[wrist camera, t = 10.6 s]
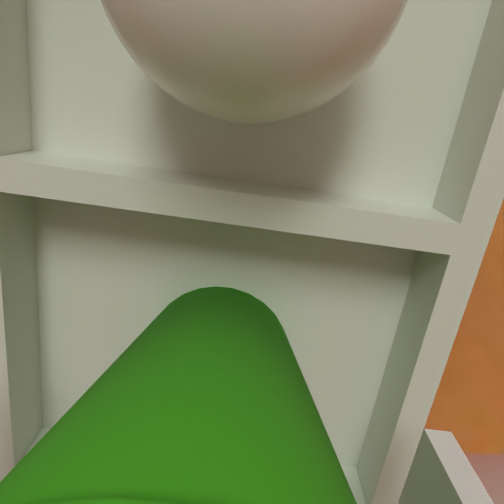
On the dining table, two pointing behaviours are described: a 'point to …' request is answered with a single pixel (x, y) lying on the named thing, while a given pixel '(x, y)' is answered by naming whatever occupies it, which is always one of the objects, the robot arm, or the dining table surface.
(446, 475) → the robot arm
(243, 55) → the white ball
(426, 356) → the tray
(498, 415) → the dining table surface
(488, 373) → the dining table surface
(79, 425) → the cup
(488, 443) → the dining table surface
